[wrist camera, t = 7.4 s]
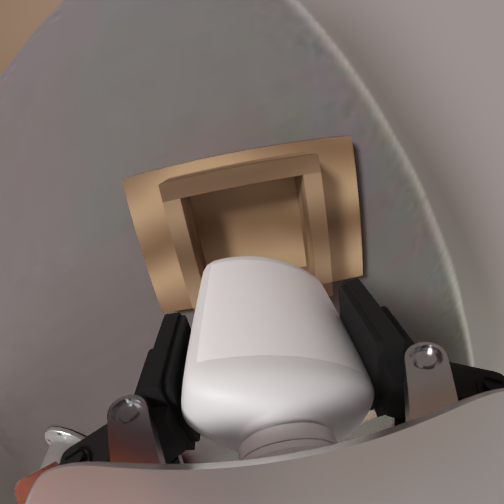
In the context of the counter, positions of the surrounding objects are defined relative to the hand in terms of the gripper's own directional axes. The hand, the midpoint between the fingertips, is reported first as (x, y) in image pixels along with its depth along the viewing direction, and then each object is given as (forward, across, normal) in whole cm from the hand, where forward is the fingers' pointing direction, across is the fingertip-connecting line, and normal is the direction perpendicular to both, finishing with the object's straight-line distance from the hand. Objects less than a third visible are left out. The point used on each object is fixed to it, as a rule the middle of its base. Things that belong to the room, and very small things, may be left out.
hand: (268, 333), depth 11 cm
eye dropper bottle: (+4, 0, 0) cm, 4 cm away
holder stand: (+15, 0, 0) cm, 15 cm away
